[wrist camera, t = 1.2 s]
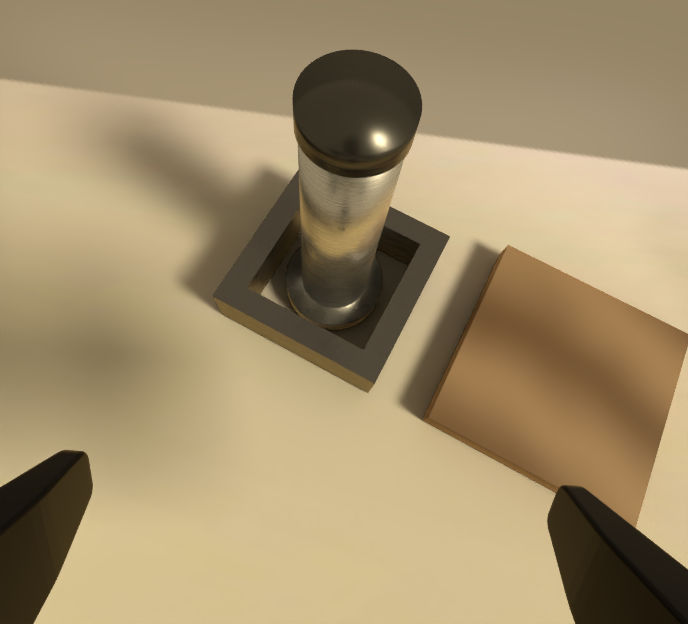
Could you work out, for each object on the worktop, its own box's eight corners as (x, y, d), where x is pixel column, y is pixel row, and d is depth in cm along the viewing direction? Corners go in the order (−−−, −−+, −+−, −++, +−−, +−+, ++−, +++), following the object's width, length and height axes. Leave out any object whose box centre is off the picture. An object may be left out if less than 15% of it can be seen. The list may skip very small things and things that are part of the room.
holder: (367, 392, 23) (374, 383, 21) (222, 314, 24) (212, 296, 22) (437, 258, 26) (450, 236, 23) (303, 190, 26) (302, 163, 24)
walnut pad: (618, 526, 22) (635, 528, 21) (422, 420, 23) (428, 417, 22) (673, 341, 25) (690, 335, 24) (499, 254, 26) (507, 245, 25)
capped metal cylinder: (352, 346, 24) (399, 210, 12) (269, 301, 24) (229, 125, 12) (394, 269, 25) (476, 76, 13) (315, 228, 26) (321, 5, 14)
